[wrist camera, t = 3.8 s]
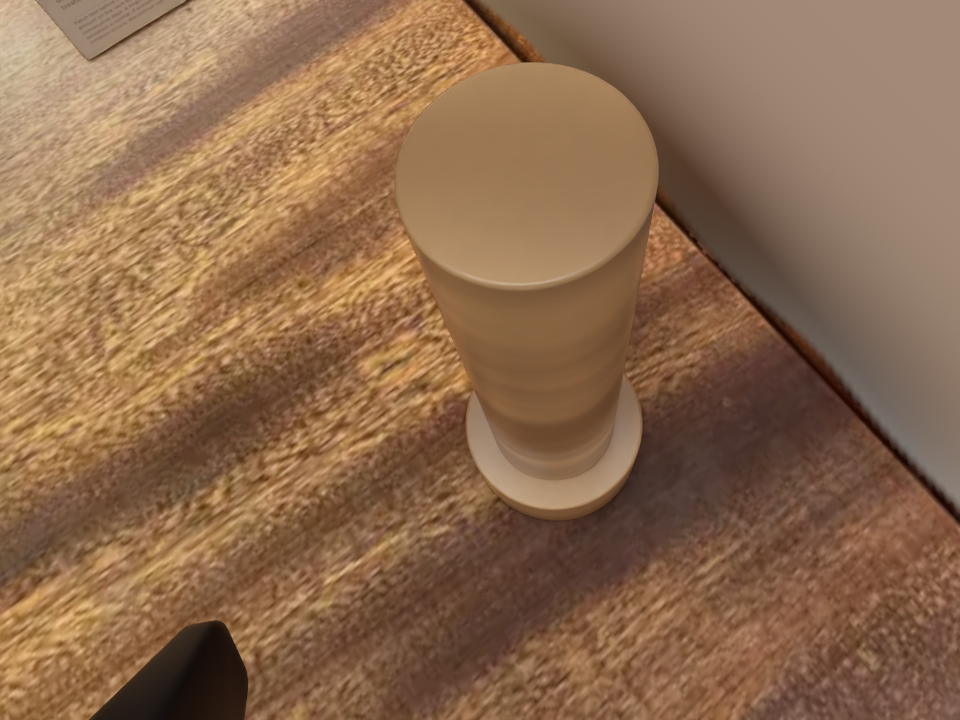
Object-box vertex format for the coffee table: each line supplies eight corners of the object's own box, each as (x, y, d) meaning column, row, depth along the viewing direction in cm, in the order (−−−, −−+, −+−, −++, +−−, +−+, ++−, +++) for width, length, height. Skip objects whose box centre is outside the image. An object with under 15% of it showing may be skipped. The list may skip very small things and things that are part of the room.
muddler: (650, 510, 20) (768, 317, 8) (484, 530, 20) (341, 378, 8) (621, 353, 21) (680, -16, 9) (467, 375, 22) (327, 47, 9)
